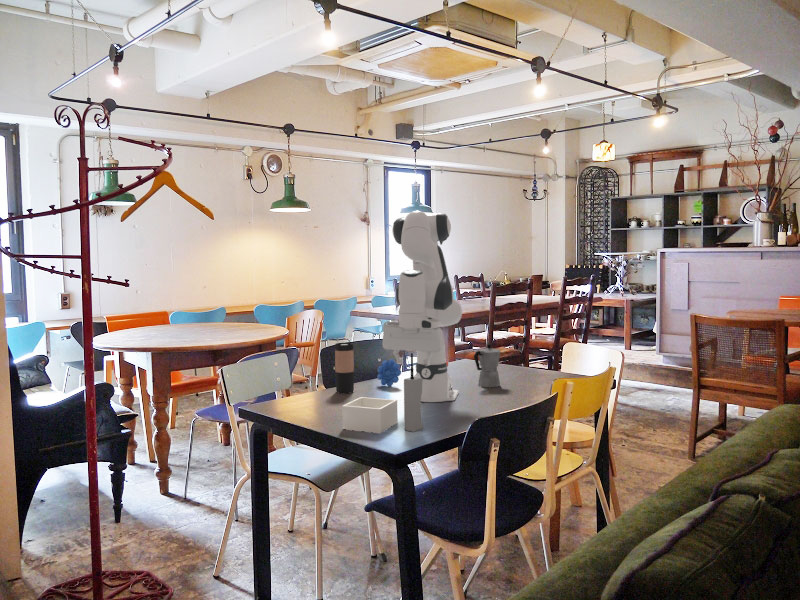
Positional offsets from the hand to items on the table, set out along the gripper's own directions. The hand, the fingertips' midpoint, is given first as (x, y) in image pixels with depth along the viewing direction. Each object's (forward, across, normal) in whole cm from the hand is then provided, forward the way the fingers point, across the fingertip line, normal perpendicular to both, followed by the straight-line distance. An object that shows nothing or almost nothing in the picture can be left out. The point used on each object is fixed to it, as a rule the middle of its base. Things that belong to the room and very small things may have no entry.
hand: (413, 364), depth 208 cm
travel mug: (+21, -48, +44) cm, 69 cm away
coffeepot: (+21, +4, +75) cm, 78 cm away
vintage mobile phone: (+21, 0, 0) cm, 21 cm away
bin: (+21, -15, -1) cm, 26 cm away
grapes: (+21, -35, +61) cm, 74 cm away
